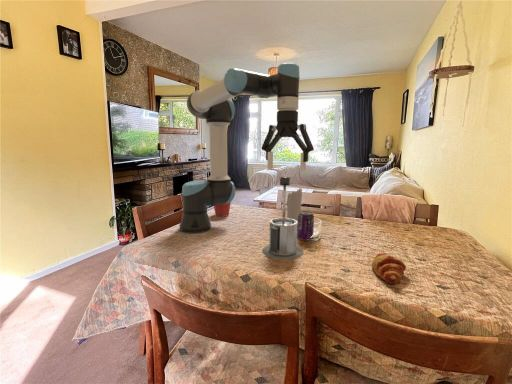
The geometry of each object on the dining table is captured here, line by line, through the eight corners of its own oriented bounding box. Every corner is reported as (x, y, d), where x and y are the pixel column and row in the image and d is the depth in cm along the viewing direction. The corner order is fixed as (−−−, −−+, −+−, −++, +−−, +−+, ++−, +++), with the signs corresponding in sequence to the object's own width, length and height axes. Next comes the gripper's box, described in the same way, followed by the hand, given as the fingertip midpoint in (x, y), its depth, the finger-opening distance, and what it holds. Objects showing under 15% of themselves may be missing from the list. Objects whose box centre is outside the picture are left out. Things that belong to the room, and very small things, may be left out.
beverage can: (312, 241, 123) (314, 215, 120) (296, 240, 124) (297, 214, 122) (312, 236, 129) (314, 211, 127) (297, 235, 131) (298, 210, 129)
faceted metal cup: (260, 253, 106) (261, 223, 104) (277, 244, 117) (278, 216, 115) (286, 260, 100) (287, 228, 98) (301, 250, 111) (302, 220, 109)
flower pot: (210, 216, 161) (210, 200, 159) (216, 212, 171) (216, 196, 170) (228, 217, 159) (228, 201, 157) (233, 213, 170) (233, 197, 168)
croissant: (373, 268, 105) (364, 249, 105) (400, 259, 102) (391, 239, 102) (382, 296, 85) (371, 272, 85) (417, 286, 82) (405, 261, 82)
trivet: (254, 254, 107) (254, 252, 107) (275, 242, 120) (275, 241, 120) (291, 265, 99) (291, 263, 98) (309, 251, 112) (310, 249, 111)
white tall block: (280, 220, 156) (281, 184, 152) (302, 224, 148) (304, 187, 144) (273, 223, 150) (274, 186, 147) (296, 227, 142) (298, 189, 139)
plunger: (269, 226, 107) (270, 177, 103) (279, 222, 113) (280, 175, 110) (287, 230, 102) (289, 179, 99) (297, 225, 109) (299, 177, 105)
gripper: (252, 111, 104) (252, 168, 107) (316, 107, 90) (313, 173, 94) (263, 113, 110) (262, 167, 114) (325, 109, 96) (321, 171, 100)
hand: (285, 170), depth 104 cm, fingers open, 13 cm apart
